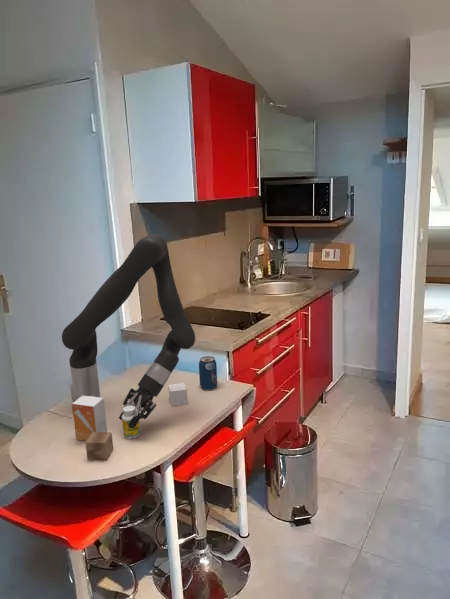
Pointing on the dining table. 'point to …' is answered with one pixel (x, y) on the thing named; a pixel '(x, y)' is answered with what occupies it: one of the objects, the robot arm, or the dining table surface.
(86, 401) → the small box
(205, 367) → the soda can
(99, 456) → the walnut cube
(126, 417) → the supplement bottle
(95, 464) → the dining table surface
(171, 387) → the white cube
